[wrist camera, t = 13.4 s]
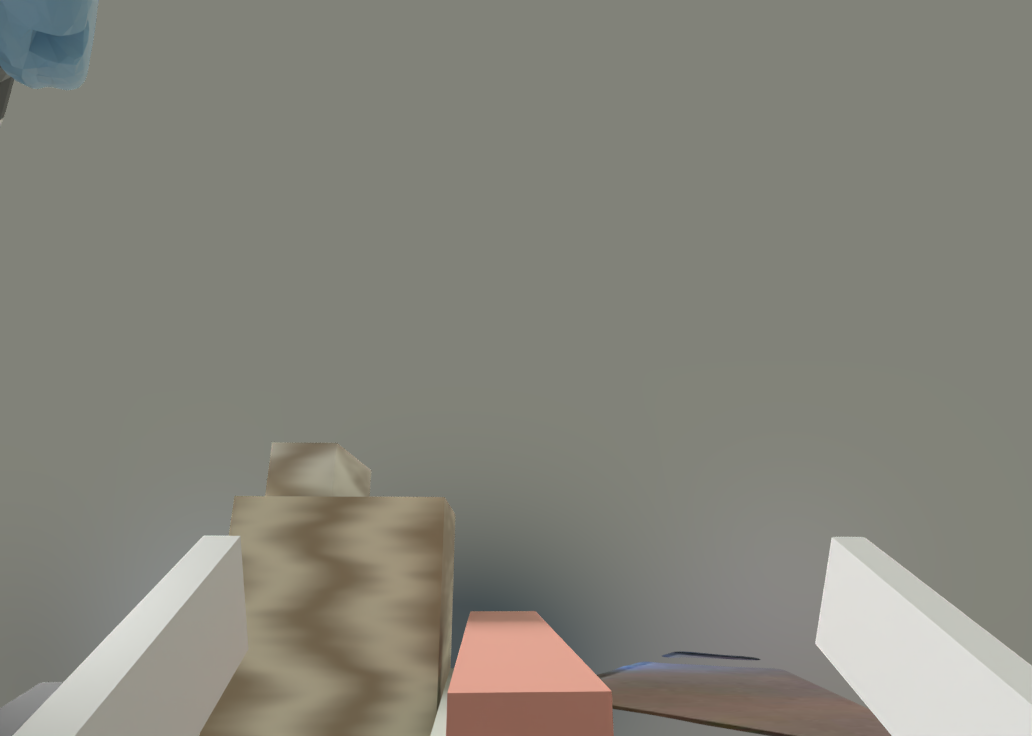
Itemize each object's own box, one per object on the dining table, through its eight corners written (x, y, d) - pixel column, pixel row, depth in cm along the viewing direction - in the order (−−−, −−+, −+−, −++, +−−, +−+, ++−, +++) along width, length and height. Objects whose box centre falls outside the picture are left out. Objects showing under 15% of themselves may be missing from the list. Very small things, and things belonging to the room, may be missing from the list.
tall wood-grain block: (126, 1232, 24) (243, 435, 35) (252, 993, 38) (309, 469, 48) (417, 1215, 25) (446, 438, 35) (440, 987, 38) (456, 471, 49)
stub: (442, 842, 13) (447, 693, 14) (469, 665, 35) (470, 611, 36) (618, 838, 13) (611, 691, 14) (535, 665, 35) (535, 611, 36)
